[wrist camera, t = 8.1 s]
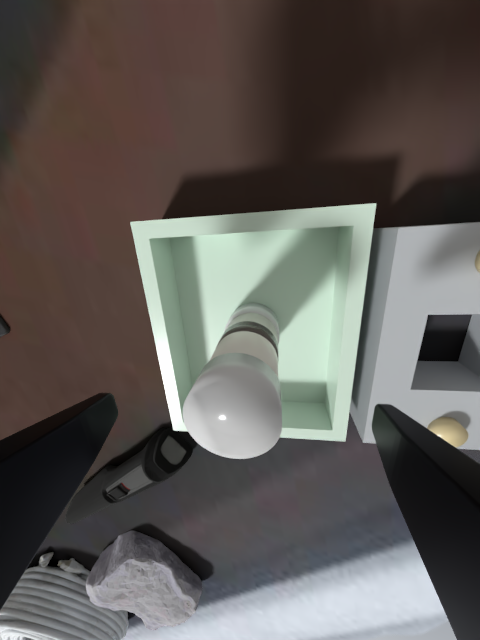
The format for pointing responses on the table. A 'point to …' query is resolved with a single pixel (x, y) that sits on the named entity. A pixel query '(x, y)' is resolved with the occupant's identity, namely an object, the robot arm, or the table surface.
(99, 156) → the table surface
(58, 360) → the table surface
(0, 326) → the solid state drive
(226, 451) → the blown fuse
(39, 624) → the cable
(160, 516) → the table surface
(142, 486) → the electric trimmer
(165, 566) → the stone block
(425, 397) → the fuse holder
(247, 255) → the tray
